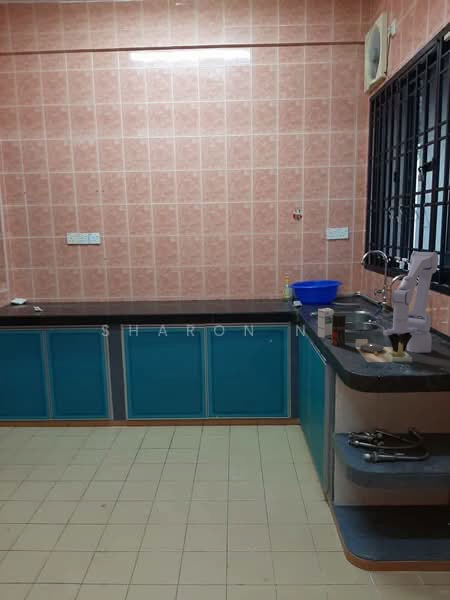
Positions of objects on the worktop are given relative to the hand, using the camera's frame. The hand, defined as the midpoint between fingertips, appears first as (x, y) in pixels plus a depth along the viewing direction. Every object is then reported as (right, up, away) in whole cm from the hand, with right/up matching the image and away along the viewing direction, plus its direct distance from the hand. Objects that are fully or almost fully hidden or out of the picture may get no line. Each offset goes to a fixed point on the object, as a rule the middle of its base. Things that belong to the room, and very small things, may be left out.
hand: (399, 351), depth 180 cm
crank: (-8, -1, +13) cm, 15 cm away
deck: (-4, -3, +8) cm, 9 cm away
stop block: (0, -3, +1) cm, 3 cm away
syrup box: (-21, +2, +41) cm, 46 cm away
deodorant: (-19, -1, +24) cm, 30 cm away
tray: (0, -3, +1) cm, 3 cm away
